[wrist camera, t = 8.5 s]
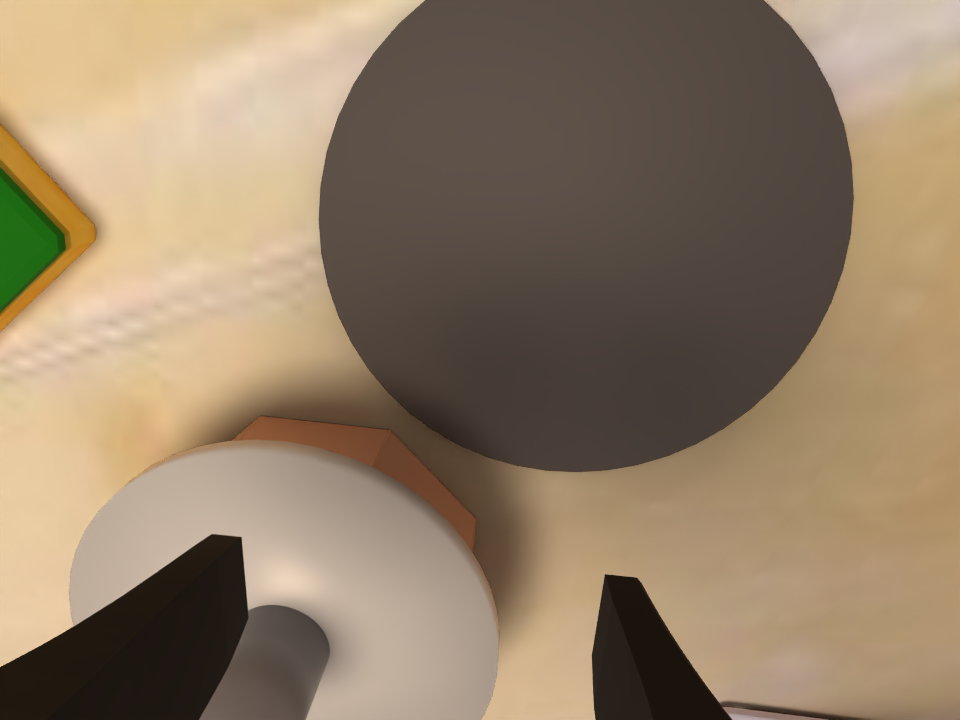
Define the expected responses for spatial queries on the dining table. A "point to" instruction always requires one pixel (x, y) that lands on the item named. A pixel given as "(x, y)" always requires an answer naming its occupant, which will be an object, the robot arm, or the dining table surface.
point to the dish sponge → (33, 229)
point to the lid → (311, 582)
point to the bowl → (370, 460)
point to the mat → (585, 221)
